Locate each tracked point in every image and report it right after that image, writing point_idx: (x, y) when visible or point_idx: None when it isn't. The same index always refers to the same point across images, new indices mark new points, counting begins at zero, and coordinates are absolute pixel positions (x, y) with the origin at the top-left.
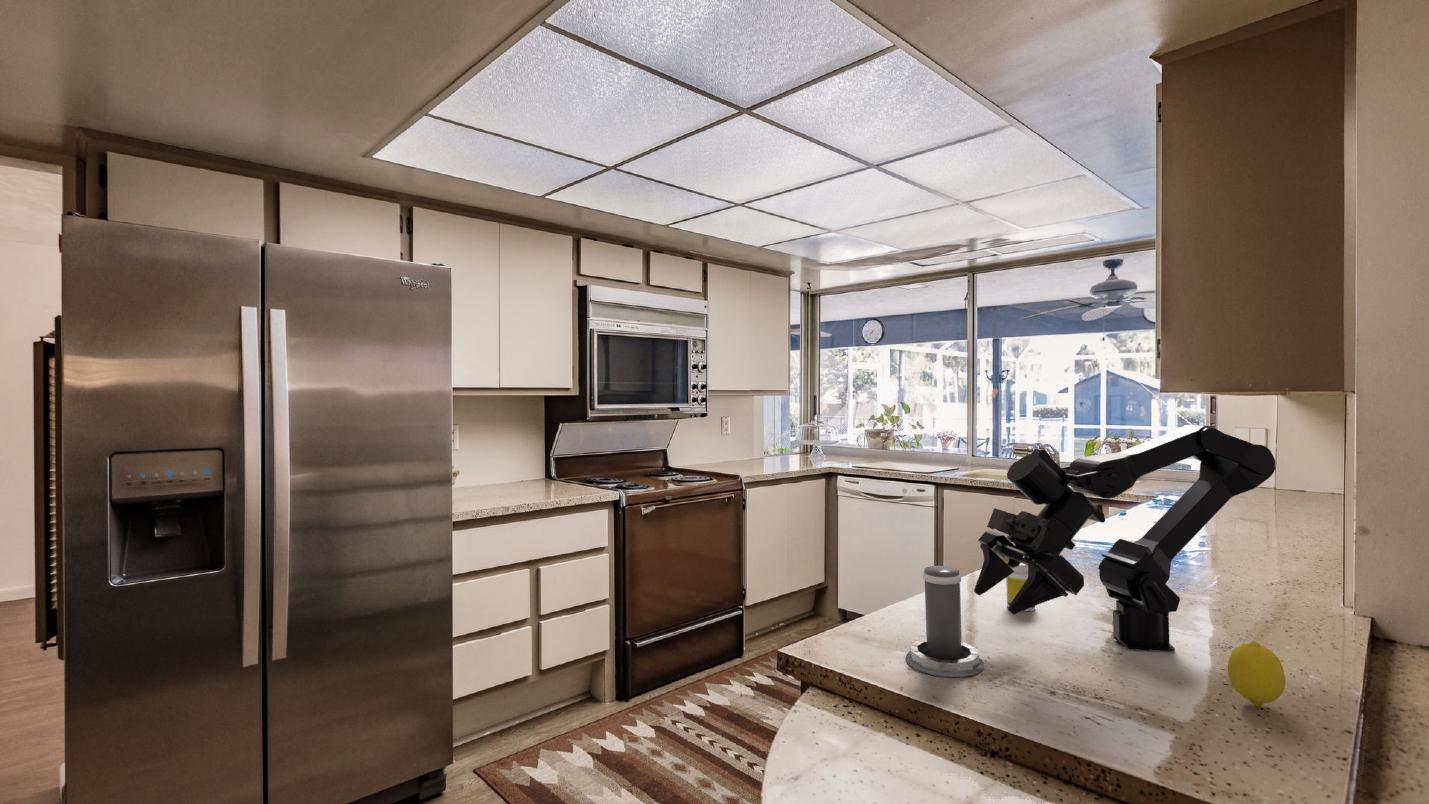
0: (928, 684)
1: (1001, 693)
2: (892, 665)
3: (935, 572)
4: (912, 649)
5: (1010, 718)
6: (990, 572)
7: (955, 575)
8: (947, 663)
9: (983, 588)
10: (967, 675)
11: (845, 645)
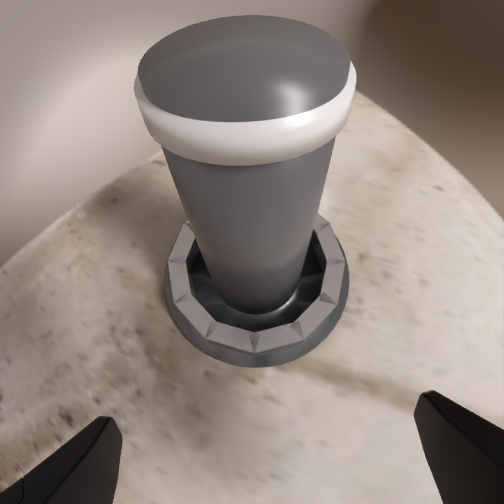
0: (158, 205)
1: (85, 319)
2: None
3: (206, 29)
4: None
5: (24, 282)
6: (489, 493)
7: (143, 88)
8: (176, 240)
9: (432, 439)
10: (166, 290)
11: (358, 132)
